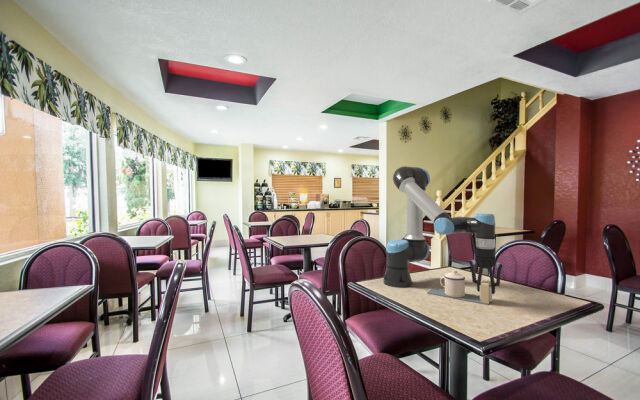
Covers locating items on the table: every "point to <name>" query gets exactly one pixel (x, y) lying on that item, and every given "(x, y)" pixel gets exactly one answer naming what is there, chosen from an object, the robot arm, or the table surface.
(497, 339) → the table surface
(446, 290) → the teacup with lid
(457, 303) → the table surface
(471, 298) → the runner
